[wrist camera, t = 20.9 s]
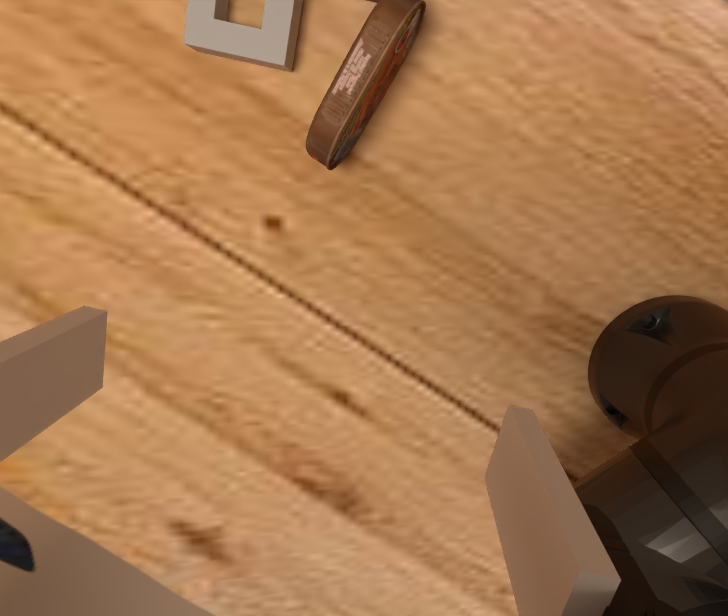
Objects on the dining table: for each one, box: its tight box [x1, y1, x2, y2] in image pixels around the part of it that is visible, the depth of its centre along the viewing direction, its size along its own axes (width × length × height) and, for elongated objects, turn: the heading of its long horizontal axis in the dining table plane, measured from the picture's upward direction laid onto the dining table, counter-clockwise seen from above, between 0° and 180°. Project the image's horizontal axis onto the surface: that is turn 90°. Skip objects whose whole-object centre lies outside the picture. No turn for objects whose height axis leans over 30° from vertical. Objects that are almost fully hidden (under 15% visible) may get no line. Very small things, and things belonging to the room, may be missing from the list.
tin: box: [306, 0, 426, 170], centre depth 41 cm, size 15×3×8 cm, turn 148°
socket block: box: [184, 0, 303, 72], centre depth 43 cm, size 9×9×3 cm
